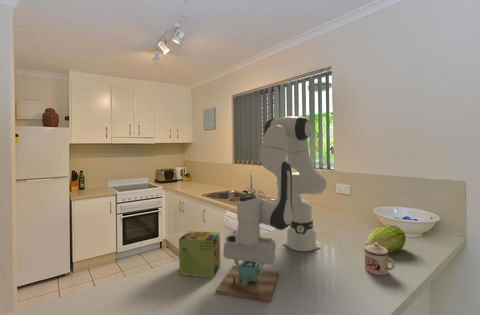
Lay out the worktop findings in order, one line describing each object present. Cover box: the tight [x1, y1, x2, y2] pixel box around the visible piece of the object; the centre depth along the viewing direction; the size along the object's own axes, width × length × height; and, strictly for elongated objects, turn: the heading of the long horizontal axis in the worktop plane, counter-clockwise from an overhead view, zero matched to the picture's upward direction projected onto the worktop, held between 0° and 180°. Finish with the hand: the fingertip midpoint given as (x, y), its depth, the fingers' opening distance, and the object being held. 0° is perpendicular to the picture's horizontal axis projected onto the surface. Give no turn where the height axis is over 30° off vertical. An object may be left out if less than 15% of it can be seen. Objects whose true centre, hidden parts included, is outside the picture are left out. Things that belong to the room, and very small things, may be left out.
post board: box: [215, 263, 280, 303], centre depth 98 cm, size 20×20×7 cm
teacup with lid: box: [363, 243, 396, 276], centre depth 104 cm, size 12×9×12 cm
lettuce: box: [364, 224, 407, 253], centre depth 125 cm, size 13×22×14 cm
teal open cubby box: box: [239, 260, 260, 286], centre depth 96 cm, size 10×7×5 cm, turn 162°
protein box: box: [178, 230, 221, 278], centre depth 108 cm, size 10×15×16 cm
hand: (249, 271), depth 97 cm, fingers closed on teal open cubby box, 7 cm apart
